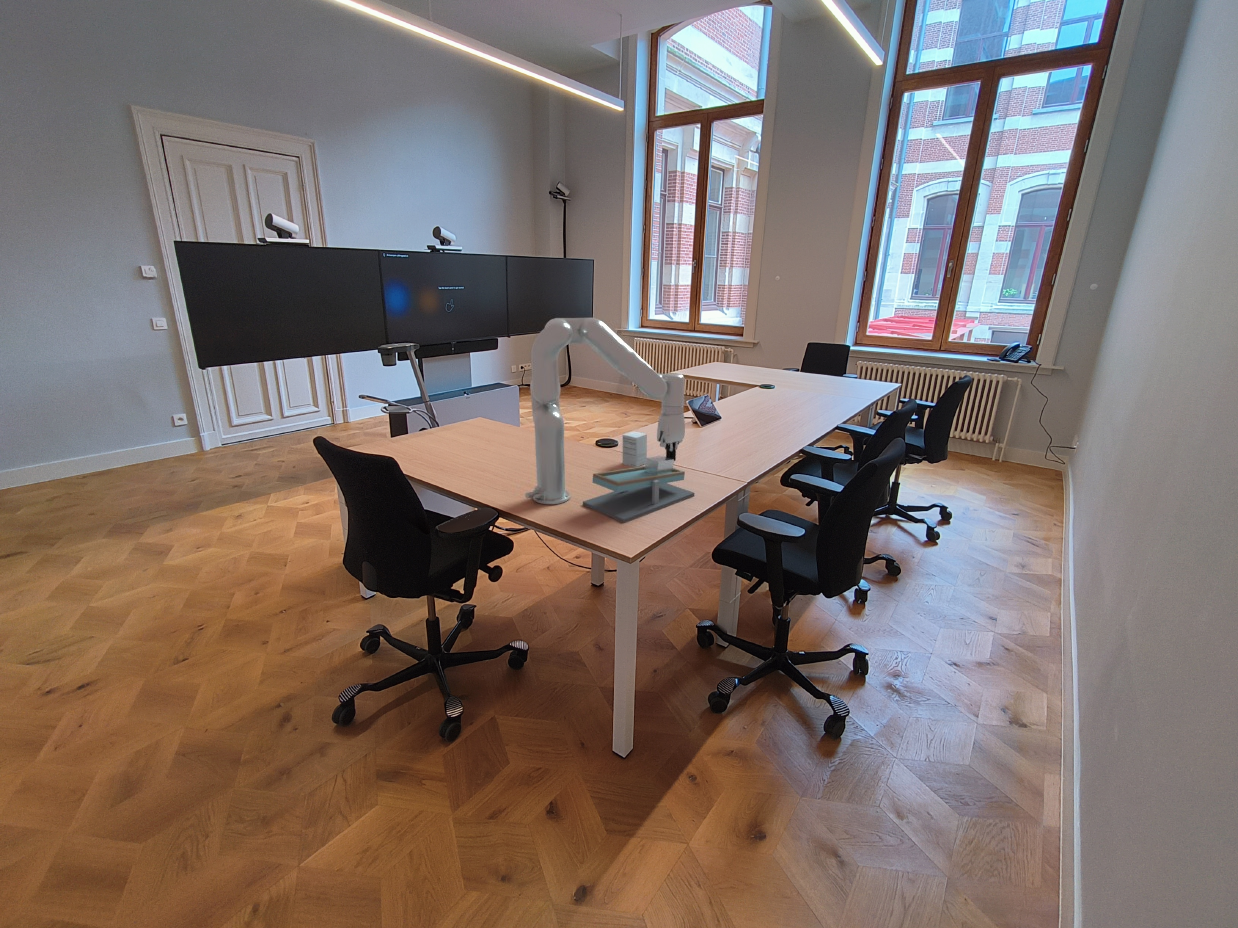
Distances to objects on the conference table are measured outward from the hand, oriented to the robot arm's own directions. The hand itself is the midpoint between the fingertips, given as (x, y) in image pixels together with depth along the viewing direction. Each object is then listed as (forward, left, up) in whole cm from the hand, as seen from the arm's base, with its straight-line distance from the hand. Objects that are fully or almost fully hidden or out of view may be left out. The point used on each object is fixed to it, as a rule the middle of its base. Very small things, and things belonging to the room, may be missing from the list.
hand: (670, 460), depth 198 cm
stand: (-15, 0, -11) cm, 19 cm away
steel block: (-6, 0, -3) cm, 7 cm away
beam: (-15, 0, -3) cm, 16 cm away
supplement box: (+12, +30, -11) cm, 34 cm away
